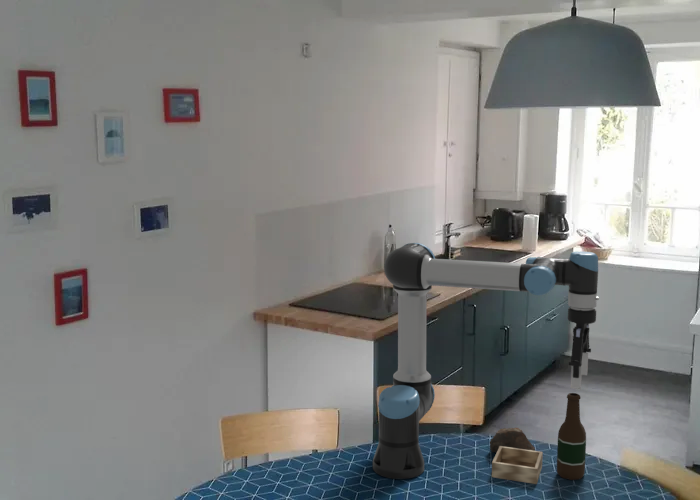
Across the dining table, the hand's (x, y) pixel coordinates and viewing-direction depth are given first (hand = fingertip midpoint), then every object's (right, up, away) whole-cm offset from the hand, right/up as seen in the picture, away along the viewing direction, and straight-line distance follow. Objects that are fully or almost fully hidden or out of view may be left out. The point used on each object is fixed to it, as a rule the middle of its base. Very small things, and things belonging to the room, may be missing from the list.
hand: (579, 381), depth 210 cm
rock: (-14, -26, +22) cm, 36 cm away
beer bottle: (-1, -28, +4) cm, 28 cm away
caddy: (-16, -27, +6) cm, 32 cm away
